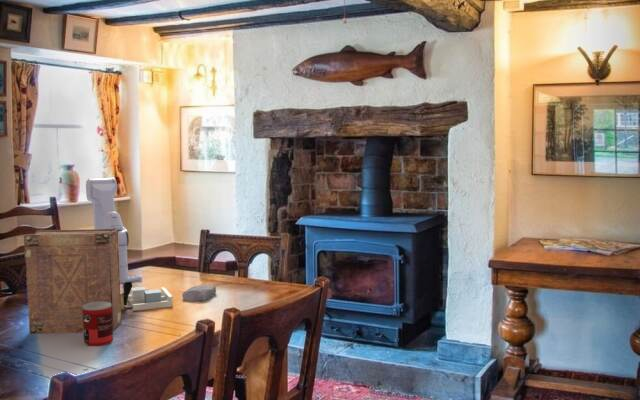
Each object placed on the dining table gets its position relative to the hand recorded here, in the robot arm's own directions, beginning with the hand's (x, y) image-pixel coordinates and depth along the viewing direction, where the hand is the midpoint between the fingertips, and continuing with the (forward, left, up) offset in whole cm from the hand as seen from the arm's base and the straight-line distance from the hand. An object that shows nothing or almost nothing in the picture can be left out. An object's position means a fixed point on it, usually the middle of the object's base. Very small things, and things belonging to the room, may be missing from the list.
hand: (120, 305), depth 225 cm
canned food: (+35, -10, -2) cm, 36 cm away
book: (+17, -15, -2) cm, 23 cm away
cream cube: (-7, +7, -2) cm, 10 cm away
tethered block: (0, +6, -1) cm, 6 cm away
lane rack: (-4, +10, -2) cm, 10 cm away
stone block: (-5, +28, -2) cm, 29 cm away
